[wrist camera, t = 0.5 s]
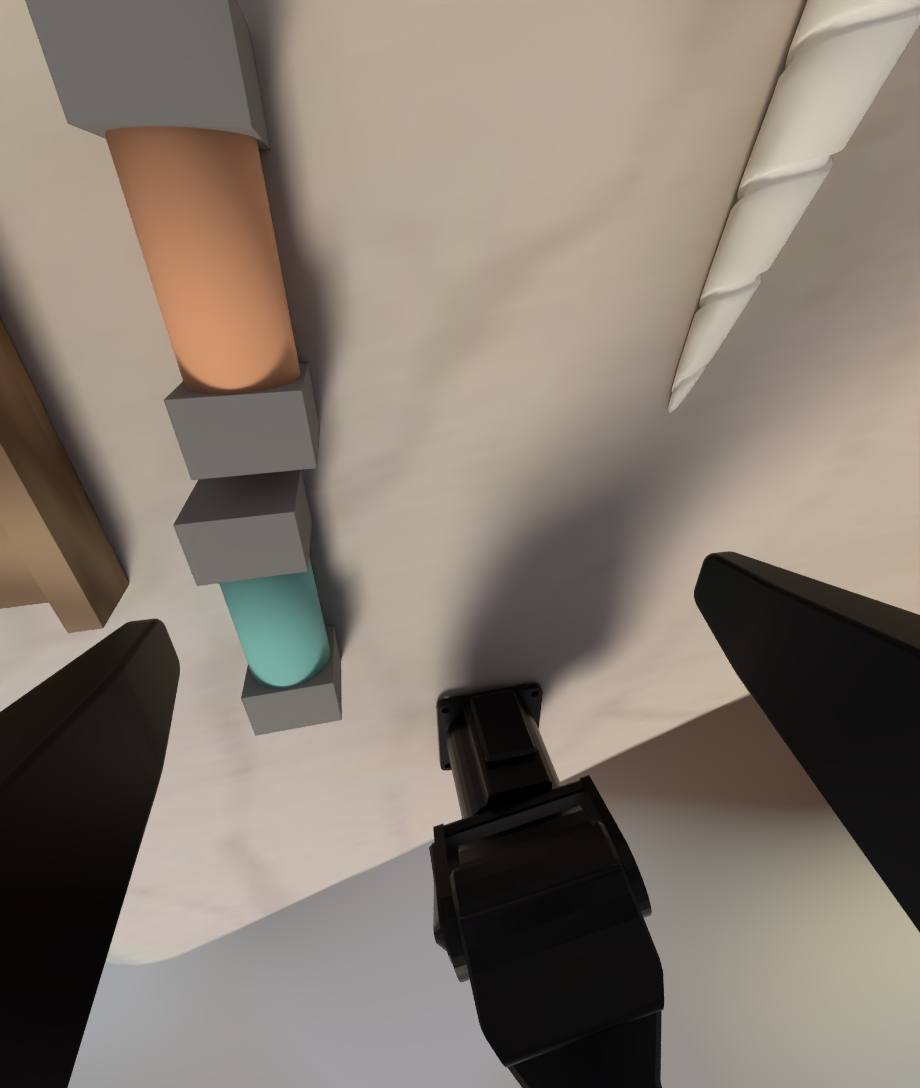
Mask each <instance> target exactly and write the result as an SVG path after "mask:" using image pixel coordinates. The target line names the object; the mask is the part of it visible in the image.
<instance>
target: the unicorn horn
mask: <svg viewBox="0 0 920 1088" xmlns="http://www.w3.org/2000/svg"><path fill="white" fill-rule="evenodd" d="M919 25H920V0H808V1H807V3H806V6H805V9H804V11H803V14H802V17H801V19H800V22H799V25H798V27H797V30H796V33H795V36H794V38H793V41H792V44H791V46H790V49H789V52H788V56H787V60H786V64H785V68H786V69H785V70H784V72H783V73H782V74H781V76H780V77H779V79H778V82H777V85H776V88H775V91H774V94H773V97H772V99H771V102H770V105H769V107H768V110H767V113H766V115H765V118H764V121H763V123H762V126H761V129H760V132H759V134H758V137H757V140H756V142H755V145H754V148H753V150H752V153H751V156H750V158H749V161H748V164H747V166H746V169H745V172H744V175H743V178H742V180H741V183H740V186H739V189H738V194H737V198H738V200H739V201H738V202H737V203H736V204H735V205H734V207H733V208H732V209H731V211H730V214H729V217H728V220H727V223H726V226H725V228H724V231H723V234H722V237H721V240H720V243H719V245H718V248H717V251H716V254H715V257H714V260H713V262H712V265H711V268H710V271H709V274H708V277H707V280H706V283H705V286H704V289H703V292H702V295H701V297H700V302H699V305H700V308H701V309H699V310H698V311H697V312H696V314H695V315H694V318H693V321H692V324H691V327H690V330H689V333H688V337H687V340H686V343H685V346H684V349H683V352H682V356H681V359H680V362H679V365H678V368H677V372H676V376H675V379H674V383H673V387H672V396H671V397H670V401H669V406H668V410H669V413H671V412H672V411H673V410H675V409H676V408H677V407H678V406H679V405H680V403H681V402H682V401H683V400H684V398H685V397H686V396H687V395H688V393H689V392H690V390H691V389H692V387H693V386H694V384H695V383H696V382H697V380H698V379H699V377H700V376H701V374H702V373H703V371H704V370H705V366H706V364H707V363H708V362H710V361H711V359H712V358H713V356H714V355H715V353H716V352H717V350H718V349H719V347H720V346H721V344H722V343H723V341H724V339H725V338H726V336H727V335H728V333H729V332H730V330H731V328H732V327H733V325H734V324H735V322H736V321H737V319H738V318H739V316H740V314H741V313H742V311H743V310H744V308H745V307H746V305H747V303H748V302H749V300H750V299H751V297H752V295H753V294H754V292H755V291H756V289H757V287H758V286H759V284H760V283H761V281H762V280H761V273H763V272H765V271H766V270H768V269H769V268H770V267H771V265H772V264H773V262H774V260H775V259H776V257H777V256H778V254H779V252H780V251H781V249H782V248H783V246H784V244H785V243H786V241H787V240H788V238H789V236H790V235H791V233H792V232H793V230H794V228H795V227H796V225H797V223H798V222H799V220H800V219H801V217H802V215H803V214H804V212H805V211H806V209H807V207H808V206H809V204H810V202H811V201H812V199H813V197H814V196H815V194H816V193H817V191H818V189H819V188H820V186H821V184H822V183H823V181H824V180H825V178H826V176H827V175H828V173H829V171H830V169H831V168H832V166H833V162H832V158H831V154H834V153H837V152H840V151H842V150H843V149H844V147H845V146H846V144H847V143H848V141H849V139H850V138H851V136H852V134H853V133H854V131H855V130H856V128H857V126H858V125H859V123H860V121H861V120H862V118H863V117H864V115H865V113H866V112H867V110H868V108H869V107H870V105H871V103H872V102H873V100H874V99H875V97H876V95H877V94H878V92H879V90H880V89H881V87H882V85H883V84H884V82H885V81H886V79H887V77H888V76H889V74H890V72H891V71H892V69H893V67H894V66H895V64H896V63H897V61H898V59H899V58H900V56H901V54H902V53H903V51H904V49H905V48H906V46H907V44H908V43H909V41H910V39H911V38H912V36H913V34H914V33H915V31H916V29H917V28H918V26H919Z"/></svg>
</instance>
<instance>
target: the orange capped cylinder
mask: <svg viewBox="0 0 920 1088" xmlns="http://www.w3.org/2000/svg"><path fill="white" fill-rule="evenodd" d="M25 1H26V4H27V7H28V10H29V13H30V16H31V19H32V21H33V24H34V27H35V30H36V33H37V36H38V39H39V42H40V45H41V47H42V50H43V53H44V56H45V59H46V62H47V65H48V68H49V70H50V73H51V76H52V79H53V82H54V85H55V88H56V91H57V94H58V96H59V99H60V102H61V105H62V108H63V111H64V114H65V117H66V120H67V122H68V124H71V125H73V126H76V127H78V128H81V129H83V130H86V131H88V132H91V133H93V134H96V135H98V136H101V137H103V138H106V140H107V143H108V146H109V149H110V152H111V155H112V159H113V162H114V165H115V168H116V171H117V174H118V178H119V181H120V184H121V187H122V190H123V193H124V196H125V200H126V203H127V206H128V209H129V212H130V215H131V218H132V222H133V225H134V228H135V231H136V234H137V237H138V240H139V244H140V247H141V250H142V253H143V256H144V259H145V262H146V266H147V269H148V272H149V275H150V278H151V281H152V284H153V288H154V291H155V294H156V297H157V300H158V303H159V306H160V310H161V313H162V316H163V319H164V322H165V325H166V328H167V332H168V335H169V338H170V341H171V344H172V347H173V350H174V354H175V357H176V360H177V363H178V366H179V369H180V372H181V376H182V379H183V382H182V383H181V384H180V385H179V386H178V387H177V388H176V389H175V390H174V391H173V392H172V393H171V394H170V395H168V396H167V397H166V398H165V399H164V402H165V405H166V408H167V411H168V414H169V417H170V420H171V422H172V425H173V428H174V431H175V434H176V437H177V440H178V443H179V445H180V448H181V451H182V454H183V457H184V460H185V463H186V466H187V469H188V471H189V474H190V477H191V480H198V479H208V478H219V477H229V476H240V475H250V474H261V473H271V472H282V471H292V470H302V469H313V468H317V456H318V445H319V434H320V427H319V421H318V415H317V410H316V404H315V398H314V393H313V387H312V381H311V376H310V370H309V365H308V362H305V363H298V358H297V352H296V347H295V342H294V336H293V331H292V326H291V320H290V315H289V310H288V304H287V299H286V294H285V288H284V283H283V277H282V272H281V267H280V261H279V256H278V251H277V245H276V240H275V235H274V229H273V224H272V219H271V213H270V208H269V203H268V197H267V192H266V187H265V181H264V176H263V171H262V165H261V160H260V155H259V149H262V150H270V144H269V138H268V133H267V127H266V121H265V116H264V110H263V105H262V99H261V93H260V88H259V82H258V76H257V71H256V65H255V59H254V54H253V48H252V42H251V37H250V31H249V28H248V25H247V23H246V21H245V18H244V16H243V14H242V12H241V9H240V7H239V5H238V2H237V0H25Z"/></svg>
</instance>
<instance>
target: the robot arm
mask: <svg viewBox="0 0 920 1088" xmlns="http://www.w3.org/2000/svg"><path fill="white" fill-rule="evenodd" d="M694 599H695V602H696V605H697V606H698V608H699V610H700V612H701V613H702V615H703V617H704V619H705V620H706V622H707V624H708V626H709V627H710V629H711V631H712V633H713V634H714V636H715V638H716V640H717V641H718V643H719V645H720V646H721V648H722V650H723V652H724V653H725V655H726V657H727V659H728V660H729V662H730V664H731V665H732V667H733V669H734V670H735V672H736V674H737V675H738V677H739V678H740V680H741V681H742V683H743V684H744V686H745V687H746V688H747V690H748V691H749V693H750V694H751V695H752V697H753V698H754V700H755V701H756V702H757V704H758V705H759V707H760V708H761V710H762V711H763V712H764V714H765V715H766V716H767V718H768V719H769V721H770V722H771V723H772V725H773V726H774V728H775V729H776V731H777V732H778V733H779V735H780V736H781V738H782V739H783V740H784V742H785V743H786V745H787V746H788V748H789V749H790V750H791V752H792V753H793V755H794V756H795V757H796V758H797V760H798V762H799V763H800V764H801V766H802V767H803V769H804V770H805V771H806V773H807V774H808V776H809V777H810V779H811V780H812V781H813V783H814V784H815V786H816V787H817V788H818V790H819V791H820V792H821V794H822V795H823V797H824V798H825V800H826V801H827V802H828V804H829V805H830V807H831V808H832V810H833V811H834V812H835V814H836V815H837V817H838V818H839V819H840V821H841V822H842V824H843V825H844V826H845V828H846V829H847V831H848V832H849V833H850V835H851V836H852V837H853V839H854V840H855V842H856V843H857V845H858V846H859V847H860V849H861V850H862V852H863V853H864V855H865V856H866V857H867V859H868V860H869V862H870V863H871V864H872V866H873V867H874V869H875V870H876V871H877V873H878V874H879V875H880V877H881V878H882V880H883V881H884V883H885V884H886V885H887V887H888V888H889V890H890V891H891V893H892V894H893V895H894V897H895V898H896V899H897V901H898V902H899V904H900V905H901V907H902V908H903V909H904V911H905V912H906V914H907V915H908V916H909V918H910V919H911V921H912V922H913V923H914V925H915V926H916V928H917V929H918V930H919V932H920V615H918V614H915V613H912V612H909V611H906V610H903V609H901V608H898V607H895V606H892V605H889V604H886V603H883V602H880V601H877V600H874V599H871V598H868V597H865V596H862V595H859V594H856V593H853V592H850V591H847V590H844V589H841V588H838V587H836V586H833V585H830V584H827V583H824V582H821V581H818V580H815V579H812V578H809V577H806V576H803V575H800V574H797V573H794V572H791V571H788V570H785V569H782V568H779V567H776V566H773V565H771V564H768V563H765V562H762V561H759V560H756V559H753V558H750V557H747V556H744V555H741V554H738V553H735V552H729V551H728V552H719V553H712V554H709V555H708V556H707V557H706V558H705V559H704V561H703V564H702V567H701V571H700V574H699V577H698V580H697V583H696V586H695V590H694ZM179 675H180V664H179V659H178V656H177V654H176V651H175V649H174V647H173V644H172V642H171V639H170V637H169V634H168V632H167V629H166V627H165V625H164V623H163V622H162V621H161V620H158V619H147V620H138V621H131V622H128V623H126V624H124V625H123V626H121V627H120V628H118V629H117V630H116V631H114V632H113V633H111V634H110V635H109V636H107V637H106V638H104V639H103V640H101V641H100V642H99V643H97V644H96V645H94V646H93V647H92V648H90V649H89V650H87V651H86V652H85V653H83V654H82V655H80V656H79V657H77V658H76V659H75V660H73V661H72V662H70V663H69V664H68V665H66V666H65V667H63V668H62V669H60V670H59V671H58V672H56V673H55V674H53V675H52V676H51V677H49V678H48V679H46V680H45V681H44V682H42V683H41V684H39V685H38V686H36V687H35V688H34V689H32V690H31V691H29V692H28V693H27V694H25V695H24V696H22V697H21V698H19V699H18V700H17V701H15V702H14V703H12V704H11V705H10V706H8V707H7V708H5V709H4V710H2V711H1V712H0V1088H67V1087H68V1084H69V1081H70V1077H71V1074H72V1071H73V1067H74V1064H75V1061H76V1057H77V1054H78V1051H79V1047H80V1044H81V1041H82V1037H83V1034H84V1031H85V1027H86V1024H87V1021H88V1018H89V1014H90V1011H91V1007H92V1004H93V1001H94V998H95V994H96V991H97V988H98V984H99V981H100V978H101V974H102V971H103V968H104V964H105V961H106V958H107V954H108V951H109V948H110V944H111V941H112V938H113V934H114V931H115V928H116V925H117V921H118V918H119V915H120V911H121V908H122V905H123V901H124V898H125V895H126V891H127V888H128V885H129V881H130V878H131V875H132V871H133V868H134V865H135V861H136V858H137V855H138V851H139V848H140V845H141V841H142V838H143V835H144V831H145V828H146V825H147V822H148V818H149V815H150V812H151V808H152V805H153V802H154V798H155V795H156V792H157V788H158V785H159V781H160V777H161V774H162V770H163V765H164V760H165V755H166V750H167V744H168V738H169V732H170V727H171V721H172V715H173V710H174V704H175V698H176V693H177V687H178V681H179ZM542 694H543V691H542V689H541V686H540V685H539V684H537V683H532V684H527V685H521V686H516V687H510V688H505V689H499V690H494V691H488V692H483V693H477V694H472V695H466V696H461V697H455V698H450V699H444V700H441V701H440V702H438V703H437V706H436V710H437V726H438V742H439V759H440V766H441V769H442V770H452V773H453V777H454V782H455V787H456V791H457V796H458V801H459V805H460V810H461V815H462V819H461V820H458V821H455V822H452V823H449V824H446V825H444V824H440V825H437V826H434V827H433V829H434V841H435V842H434V843H432V845H431V846H430V847H429V849H430V856H431V862H432V869H433V877H434V925H433V926H434V936H435V940H436V943H437V944H438V945H439V946H441V947H442V948H443V949H445V950H446V951H447V952H448V956H449V958H450V961H451V962H452V964H453V967H454V969H455V972H456V975H457V977H458V979H459V981H460V982H464V981H467V980H470V982H471V987H472V991H473V996H474V1000H475V1005H476V1010H477V1014H478V1019H479V1023H480V1026H481V1030H482V1031H483V1033H484V1036H485V1038H486V1039H487V1041H488V1042H489V1044H490V1046H491V1047H492V1049H493V1050H494V1052H495V1053H496V1055H497V1056H498V1058H499V1059H500V1061H501V1062H502V1064H503V1065H504V1066H505V1067H508V1069H509V1070H510V1071H511V1073H512V1074H513V1075H514V1077H515V1078H516V1080H517V1081H518V1082H519V1084H520V1085H521V1087H522V1088H662V1086H661V1082H660V1070H661V1010H663V1008H664V986H663V985H664V984H663V970H662V966H661V962H660V958H659V956H658V953H657V951H656V948H655V946H654V943H653V941H652V939H651V936H650V933H649V931H648V928H647V926H646V923H645V921H644V917H647V916H649V915H651V905H650V901H649V897H648V894H647V890H646V888H645V885H644V882H643V879H642V877H641V874H640V872H639V869H638V866H637V864H636V862H635V860H634V857H633V855H632V853H631V851H630V849H629V846H628V844H627V842H626V840H625V838H624V837H623V835H622V833H621V831H620V830H619V828H618V826H617V824H616V822H615V820H614V819H613V817H612V815H611V813H610V812H609V810H608V808H607V806H606V804H605V803H604V801H603V799H602V797H601V796H600V794H599V792H598V790H597V788H596V787H595V785H594V783H593V781H592V780H591V778H590V776H589V775H587V776H584V777H581V778H579V780H578V781H575V782H572V783H569V784H566V785H563V786H561V784H560V782H559V779H558V777H557V774H556V772H555V769H554V767H553V764H552V762H551V759H550V757H549V754H548V752H547V749H546V747H545V745H544V742H543V740H542V737H541V735H540V732H539V730H538V728H539V720H540V711H541V703H542Z"/></svg>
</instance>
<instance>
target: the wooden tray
mask: <svg viewBox="0 0 920 1088" xmlns="http://www.w3.org/2000/svg"><path fill="white" fill-rule="evenodd" d="M128 585H129V582H128V580H127V578H126V576H125V574H124V572H123V570H122V568H121V566H120V564H119V562H118V559H117V557H116V555H115V553H114V551H113V549H112V547H111V545H110V543H109V541H108V539H107V537H106V535H105V533H104V531H103V529H102V527H101V524H100V522H99V520H98V518H97V516H96V514H95V512H94V510H93V508H92V506H91V504H90V502H89V500H88V498H87V496H86V494H85V492H84V489H83V487H82V485H81V483H80V481H79V479H78V477H77V475H76V473H75V471H74V469H73V467H72V465H71V463H70V461H69V459H68V457H67V454H66V452H65V450H64V448H63V446H62V444H61V442H60V440H59V438H58V436H57V434H56V432H55V430H54V428H53V426H52V424H51V422H50V419H49V417H48V415H47V413H46V411H45V409H44V407H43V405H42V403H41V401H40V399H39V397H38V395H37V393H36V391H35V389H34V387H33V384H32V382H31V380H30V378H29V376H28V374H27V372H26V370H25V368H24V366H23V364H22V362H21V360H20V358H19V356H18V354H17V352H16V349H15V347H14V345H13V343H12V341H11V339H10V337H9V335H8V333H7V331H6V329H5V327H4V325H3V323H2V321H1V319H0V609H1V608H9V607H17V606H24V605H32V604H40V603H47V602H49V603H50V605H51V606H52V608H53V610H54V611H55V613H56V615H57V616H58V618H59V619H60V621H61V623H62V624H63V626H64V628H65V629H66V631H67V632H68V633H72V632H80V631H87V630H94V629H101V628H104V626H105V624H106V623H107V621H108V619H109V618H110V616H111V614H112V613H113V611H114V609H115V607H116V606H117V604H118V602H119V601H120V599H121V597H122V596H123V594H124V592H125V590H126V589H127V587H128Z"/></svg>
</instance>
